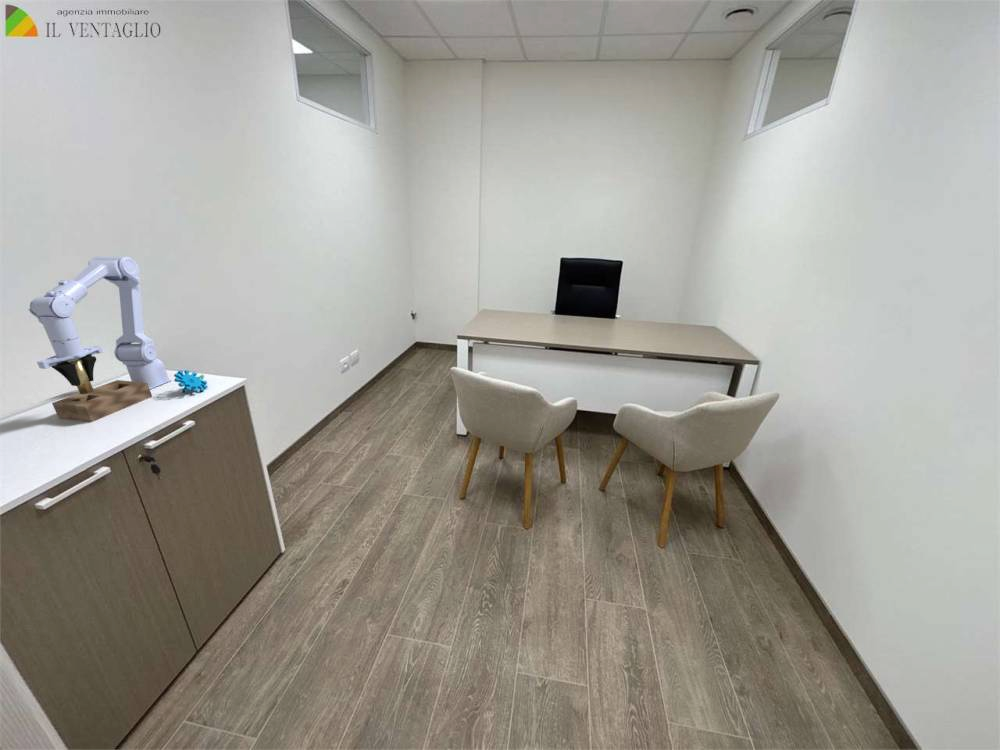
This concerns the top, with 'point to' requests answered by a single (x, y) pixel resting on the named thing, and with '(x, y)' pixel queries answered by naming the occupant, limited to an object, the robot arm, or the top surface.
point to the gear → (190, 381)
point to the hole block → (102, 400)
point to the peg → (82, 377)
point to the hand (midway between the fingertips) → (82, 383)
